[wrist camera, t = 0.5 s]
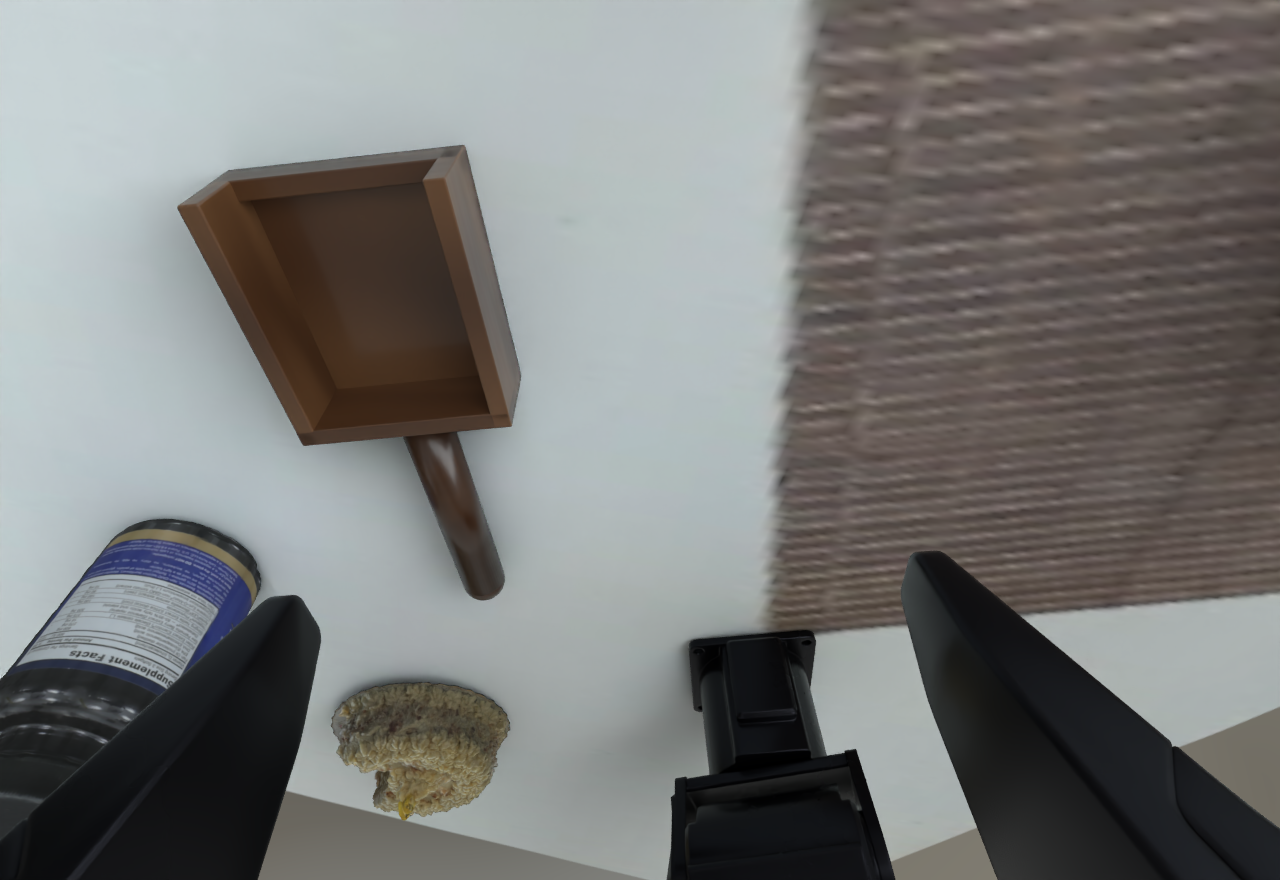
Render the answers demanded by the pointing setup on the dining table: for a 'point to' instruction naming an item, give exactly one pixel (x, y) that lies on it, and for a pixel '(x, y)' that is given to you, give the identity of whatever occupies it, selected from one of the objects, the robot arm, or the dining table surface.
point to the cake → (421, 744)
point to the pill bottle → (115, 650)
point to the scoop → (373, 313)
